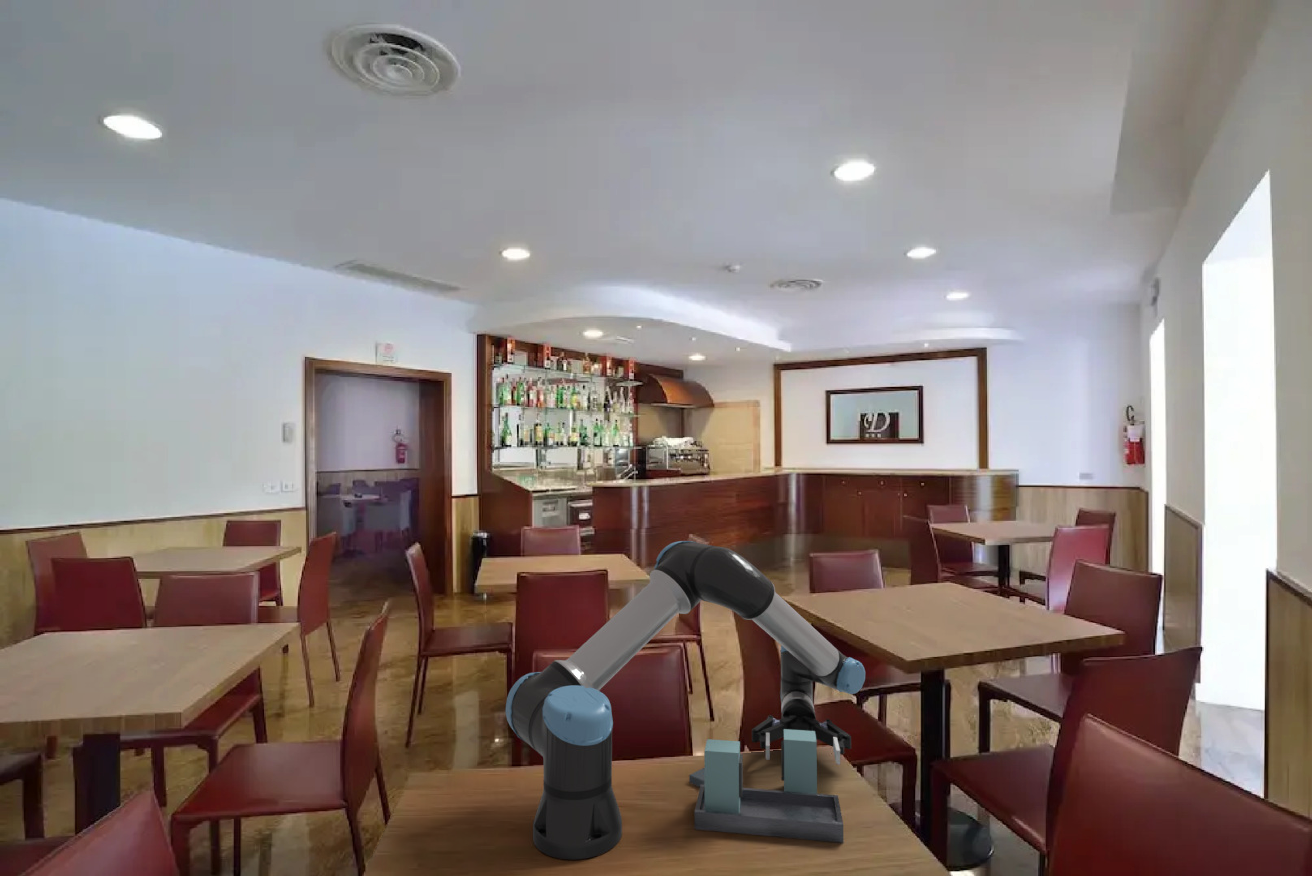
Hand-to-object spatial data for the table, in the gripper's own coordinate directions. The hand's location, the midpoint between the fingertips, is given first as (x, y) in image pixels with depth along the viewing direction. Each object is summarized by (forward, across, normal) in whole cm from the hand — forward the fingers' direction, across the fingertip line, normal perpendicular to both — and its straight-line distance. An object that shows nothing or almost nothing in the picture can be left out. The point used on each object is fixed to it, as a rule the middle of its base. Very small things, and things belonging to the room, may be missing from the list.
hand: (802, 754), depth 135 cm
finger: (+4, +1, -6) cm, 7 cm away
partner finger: (+15, +15, -4) cm, 21 cm away
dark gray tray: (+15, +7, -6) cm, 17 cm away
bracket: (0, +18, -6) cm, 19 cm away
